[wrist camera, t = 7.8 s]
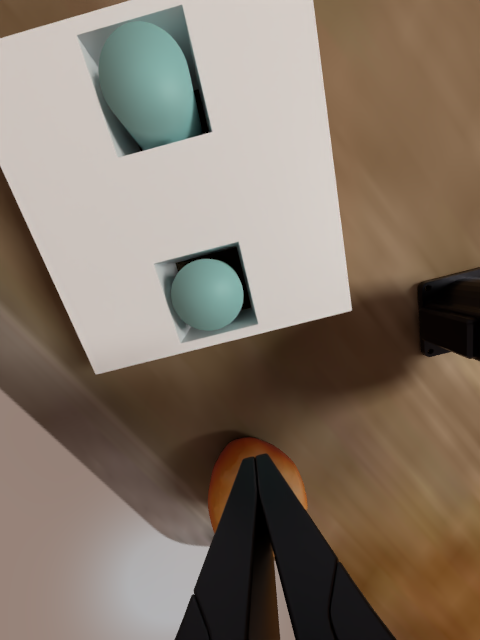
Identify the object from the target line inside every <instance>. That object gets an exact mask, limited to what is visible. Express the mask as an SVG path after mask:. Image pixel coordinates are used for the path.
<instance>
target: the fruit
mask: <svg viewBox="0 0 480 640" xmlns="http://www.w3.org/2000/svg"><path fill="white" fill-rule="evenodd" d="M265 453H267V454H268V455H269V456H270V458H271V459H272V461H273V462H274V464H275V465H276V467H277V468H278V470H279V471H280V473H281V474H282V476H283V477H284V479H285V480H286V482H287V483H288V485H289V486H290V488H291V489H292V491H293V492H294V494H295V495H296V497H297V498H298V500H299V501H300V503H301V504H302V505H303V507H304V508H305V510H306V509H307V506H308V505H307V498H306V493H305V489H304V484H303V481H302V479H301V476H300V474H299V471H298V469H297V467H296V465H295V464H294V462H293V461H292V460H291V459H290V458H289V457H288V456H287V455H286V454H285V453H283V452H282V451H281V450H280V449H278V448H277V447H275V446H274V445H272V444H270V443H267V442H265V441H263V440H260V439H257V438H251V437H247V438H240V439H236V440H233V441H232V442H230V443H229V444H228V445H227V446H226V447H225V448H224V450H223V451H222V452H221V454H220V456H219V458H218V459H217V461H216V463H215V465H214V468H213V471H212V476H211V481H210V486H209V492H208V509H209V515H210V519H211V524H212V527H213V530H214V533H215V532H216V529H217V526H218V524H219V521H220V518H221V516H222V513H223V510H224V508H225V505H226V502H227V499H228V497H229V494H230V491H231V489H232V486H233V483H234V481H235V478H236V475H237V473H238V470H239V467H240V464H241V462H242V460H243V459H244V458H248V457H252V456H254V457H256V456H257V455H260V454H265ZM273 557H274V553H273Z"/></svg>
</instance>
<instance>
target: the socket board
mask: <svg viewBox="0 0 480 640" xmlns="http://www.w3.org/2000/svg"><path fill="white" fill-rule="evenodd" d="M134 21H142V22H148V23H151V24H154V25H156V26H158V27H160V28H162V29H163V30H165V31H166V32H167V33H168V34H169V35H171V37H172V38H173V39H174V40H175V41H176V42H177V44H178V45H179V47H180V48H181V50H182V52H183V54H184V56H185V59H186V61H187V65H188V68H189V73H190V77H191V82H192V86H193V91H194V90H197V89H198V90H199V94H200V98H201V102H202V106H203V110H204V115H205V119H206V123H207V127H208V131H209V133H206V134H203V135H199V136H195V137H192V138H188V139H184V140H181V141H177V142H173V143H170V144H166V145H162V146H159V147H155V148H152V149H148V150H144V151H141V152H140V149H139V146H138V143H137V142H136V141H135V139H134V138H133V137H132V136H131V134H130V133H129V132H128V131H127V129H126V128H125V127H124V125H123V124H122V123H121V122H120V120H119V119H118V118H117V117H116V115H115V114H114V113H113V112H112V110H111V109H110V107H109V106H108V104H107V102H106V100H105V98H104V96H103V93H102V90H101V86H100V81H99V72H98V68H99V59H100V54H101V51H102V48H103V46H104V43H105V42H106V40H107V38H108V37H109V36H110V35H111V33H112V32H113V31H114V30H116V29H117V28H118V27H120V26H122V25H124V24H126V23H129V22H134ZM0 166H1V169H2V171H3V173H4V175H5V177H6V180H7V182H8V184H9V186H10V188H11V190H12V193H13V195H14V197H15V199H16V201H17V204H18V206H19V208H20V210H21V212H22V215H23V217H24V219H25V221H26V223H27V225H28V228H29V230H30V232H31V234H32V236H33V239H34V241H35V243H36V245H37V247H38V250H39V252H40V254H41V256H42V258H43V260H44V263H45V265H46V267H47V269H48V271H49V274H50V276H51V278H52V280H53V282H54V284H55V287H56V289H57V291H58V293H59V295H60V298H61V300H62V302H63V304H64V306H65V309H66V311H67V313H68V315H69V317H70V319H71V322H72V324H73V326H74V328H75V330H76V333H77V335H78V337H79V339H80V341H81V344H82V346H83V348H84V350H85V352H86V354H87V357H88V359H89V361H90V363H91V365H92V368H93V370H94V372H95V374H100V373H104V372H108V371H112V370H116V369H120V368H124V367H128V366H132V365H136V364H140V363H144V362H148V361H152V360H156V359H160V358H164V357H168V356H172V355H176V354H180V353H184V352H188V351H192V350H196V349H200V348H204V347H208V346H212V345H216V344H220V343H224V342H228V341H232V340H236V339H240V338H244V337H249V336H253V335H257V334H261V333H265V332H269V331H273V330H277V329H281V328H285V327H289V326H293V325H297V324H301V323H305V322H309V321H313V320H317V319H321V318H325V317H329V316H333V315H337V314H341V313H345V312H349V311H352V306H351V298H350V290H349V283H348V275H347V267H346V259H345V251H344V243H343V235H342V227H341V219H340V211H339V203H338V195H337V187H336V179H335V171H334V163H333V155H332V147H331V139H330V132H329V124H328V116H327V108H326V100H325V92H324V84H323V76H322V68H321V60H320V52H319V44H318V36H317V28H316V20H315V12H314V4H313V0H130V1H127V2H123V3H120V4H116V5H113V6H109V7H106V8H103V9H99V10H96V11H92V12H89V13H86V14H82V15H79V16H75V17H72V18H68V19H65V20H62V21H58V22H55V23H51V24H48V25H45V26H41V27H38V28H34V29H31V30H27V31H24V32H21V33H17V34H14V35H10V36H7V37H4V38H0ZM235 247H237V251H238V255H239V259H240V263H241V267H242V272H243V276H244V280H245V284H246V288H247V292H248V296H249V300H250V305H251V308H248V309H244V310H240V312H239V314H238V315H237V317H236V318H235V319H234V320H233V321H232V322H231V323H230V324H228V325H227V326H225V327H223V328H221V329H217V330H211V331H205V330H199V329H196V328H193V327H191V326H190V325H188V324H186V323H185V322H184V321H183V320H182V319H181V318H180V317H179V316H178V314H177V313H176V311H175V309H174V307H173V304H172V299H171V288H172V284H173V281H174V279H175V277H176V275H177V273H178V270H177V267H176V264H175V263H177V262H181V261H185V260H189V259H193V258H197V257H201V256H204V255H208V254H212V253H216V252H220V251H224V250H227V249H231V248H235Z"/></svg>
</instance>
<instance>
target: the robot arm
mask: <svg viewBox="0 0 480 640" xmlns="http://www.w3.org/2000/svg"><path fill="white" fill-rule="evenodd" d="M426 286H427V289H426V290H425V287H426ZM418 300H419V321H420V342H421V353H422V354H423V355H425V356H428V357H432V356H436V355H440V354H444V353H448V352H454V353H456V354H459V355H461V356H463V357H466V358H469V359H472V358H473V359H475V360H478V361H480V268H476V269H472V270H468V271H464V272H460V273H456V274H452V275H448V276H444V277H440V278H436V279H432V280H428V281H424V282H422V283H421V284H420V285H419V287H418ZM429 349H430V350H429ZM428 350H429V351H428ZM273 553H274V557H275V561H276V565H277V568H278V572H279V576H280V580H281V584H282V588H283V592H284V596H285V600H286V604H287V608H288V612H289V615H290V619H291V624H292V628H293V631H294V635H295V639H296V640H396V638H395V637H394V636H393V634H392V633H391V632H390V630H389V629H388V628H387V626H386V625H385V624H384V623H383V621H382V620H381V619H380V617H379V616H378V615H377V613H376V612H375V611H374V609H373V608H372V607H371V605H370V604H369V602H368V601H367V600H366V598H365V597H364V595H363V594H362V592H361V591H360V590H359V588H358V587H357V585H356V584H355V583H354V581H353V580H352V578H351V577H350V575H349V574H348V572H347V571H346V569H345V568H344V566H343V565H342V563H341V562H339V560H338V558H337V556H336V555H335V553H334V552H333V550H332V549H331V547H330V546H329V544H328V543H327V541H326V540H325V538H324V537H323V535H322V534H321V532H320V531H319V529H318V528H317V526H316V525H315V523H314V522H313V520H312V519H311V517H310V516H309V514H308V513H307V511H306V510H305V508H304V507H303V505H302V504H301V503H300V501H299V500H298V498H297V497H296V495H295V494H294V492H293V491H292V489H291V488H290V486H289V485H288V483H287V482H286V480H285V479H284V477H283V476H282V474H281V473H280V471H279V470H278V468H277V467H276V465H275V464H274V462H273V461H272V459H271V458H270V456H269V455H268V454H267V453H265V454H260V455H257V456H256V457H254V456H252V457H248V458H244V459H243V460H242V462H241V464H240V467H239V470H238V473H237V475H236V478H235V481H234V483H233V486H232V489H231V491H230V494H229V497H228V499H227V502H226V505H225V508H224V510H223V513H222V516H221V518H220V521H219V524H218V526H217V529H216V532H215V534H214V537H213V540H212V543H211V545H210V548H209V551H208V554H207V556H206V559H205V562H204V564H203V567H202V569H201V572H200V575H199V577H198V580H197V583H196V586H195V588H194V594H195V595H194V594H193V595H192V596H191V599H190V601H189V604H188V607H187V610H186V612H185V615H184V618H183V620H182V623H181V625H180V628H179V630H178V633H177V635H176V638H175V640H280V633H279V621H278V607H277V594H276V582H275V570H274V557H273Z"/></svg>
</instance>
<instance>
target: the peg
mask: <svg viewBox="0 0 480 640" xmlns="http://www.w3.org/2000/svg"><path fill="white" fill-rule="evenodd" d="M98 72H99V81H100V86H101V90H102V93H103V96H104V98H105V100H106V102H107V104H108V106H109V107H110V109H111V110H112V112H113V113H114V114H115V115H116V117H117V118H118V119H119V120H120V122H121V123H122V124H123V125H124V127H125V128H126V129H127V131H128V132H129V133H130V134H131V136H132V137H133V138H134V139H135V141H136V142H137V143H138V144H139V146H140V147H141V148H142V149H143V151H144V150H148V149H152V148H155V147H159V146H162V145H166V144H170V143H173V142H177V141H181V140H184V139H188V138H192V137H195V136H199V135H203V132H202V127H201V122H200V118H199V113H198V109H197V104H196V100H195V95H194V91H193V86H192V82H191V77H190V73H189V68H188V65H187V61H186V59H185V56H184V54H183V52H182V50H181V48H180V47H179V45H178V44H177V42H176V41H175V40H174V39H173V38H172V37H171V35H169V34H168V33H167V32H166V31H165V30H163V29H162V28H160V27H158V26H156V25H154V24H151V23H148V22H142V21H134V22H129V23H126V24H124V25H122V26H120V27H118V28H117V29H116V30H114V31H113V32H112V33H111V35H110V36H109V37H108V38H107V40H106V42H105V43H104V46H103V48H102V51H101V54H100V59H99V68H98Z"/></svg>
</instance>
